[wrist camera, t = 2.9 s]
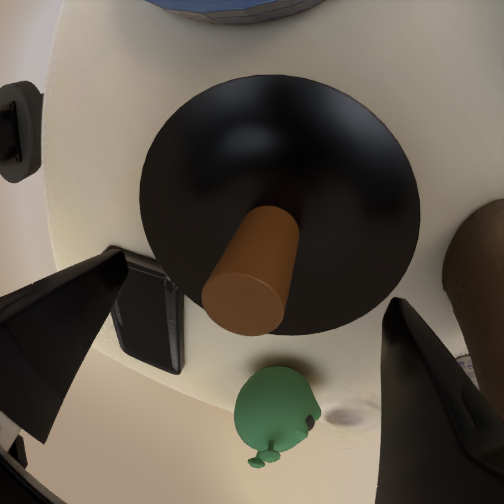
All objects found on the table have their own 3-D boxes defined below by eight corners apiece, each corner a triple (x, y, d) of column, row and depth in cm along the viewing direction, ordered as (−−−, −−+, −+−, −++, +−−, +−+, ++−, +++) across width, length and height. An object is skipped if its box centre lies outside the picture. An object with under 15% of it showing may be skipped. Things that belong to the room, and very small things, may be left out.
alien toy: (308, 397, 27) (293, 480, 19) (241, 377, 28) (212, 461, 19) (338, 364, 23) (328, 467, 15) (257, 341, 24) (224, 445, 15)
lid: (167, 297, 17) (122, 366, 12) (143, 82, 10) (44, 96, 5) (370, 335, 15) (373, 422, 10) (438, 107, 8) (523, 130, 3)
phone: (177, 278, 20) (180, 377, 28) (184, 269, 21) (184, 369, 29) (95, 249, 21) (121, 351, 29) (103, 242, 22) (125, 345, 30)
